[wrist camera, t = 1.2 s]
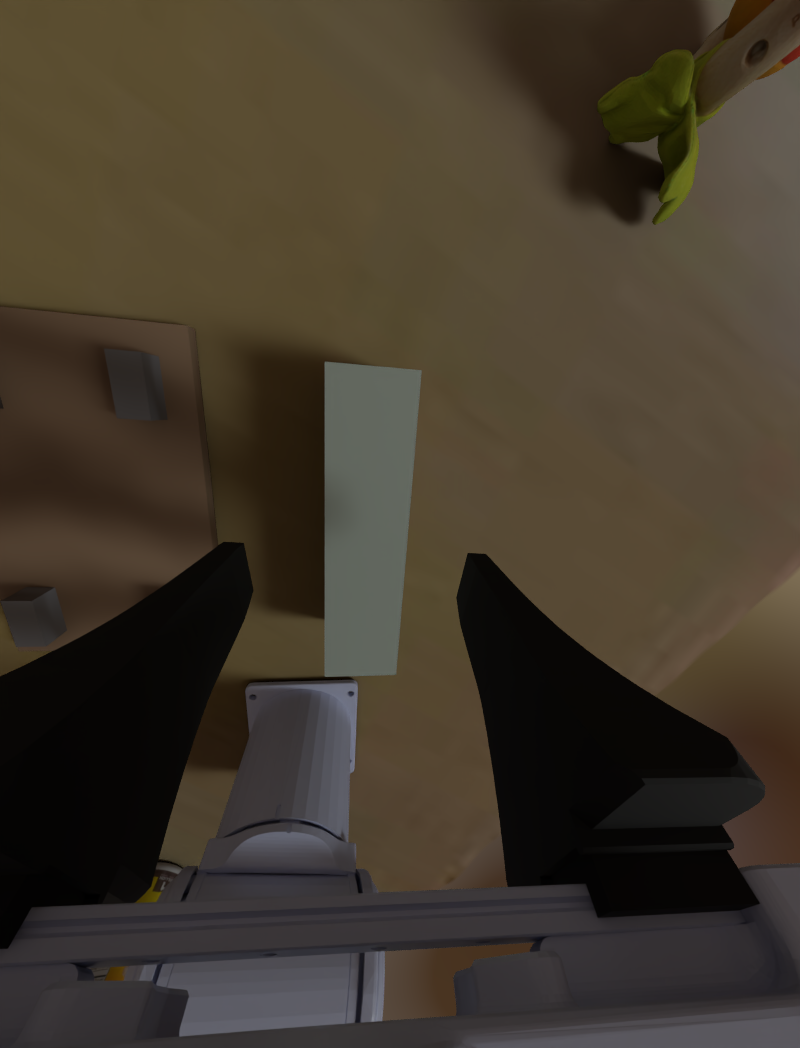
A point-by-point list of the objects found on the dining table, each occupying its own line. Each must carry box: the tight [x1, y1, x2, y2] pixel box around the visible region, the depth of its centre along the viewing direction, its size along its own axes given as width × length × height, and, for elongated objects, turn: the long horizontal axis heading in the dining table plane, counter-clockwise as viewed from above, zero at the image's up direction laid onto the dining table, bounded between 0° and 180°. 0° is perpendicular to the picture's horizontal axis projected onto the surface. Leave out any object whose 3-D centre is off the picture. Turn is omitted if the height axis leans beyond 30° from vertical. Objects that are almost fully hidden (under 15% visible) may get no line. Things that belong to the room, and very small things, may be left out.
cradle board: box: [0, 306, 218, 651], centre depth 18 cm, size 19×12×2 cm, turn 176°
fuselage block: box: [325, 362, 422, 677], centre depth 19 cm, size 16×4×6 cm, turn 176°
